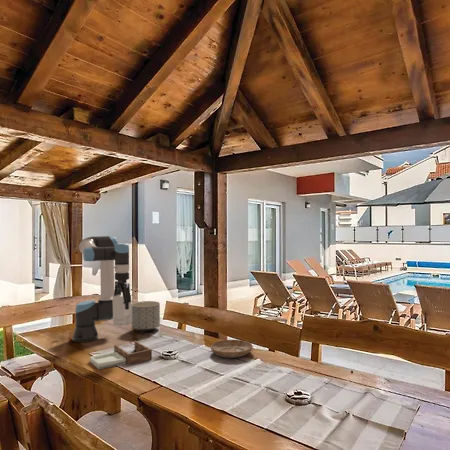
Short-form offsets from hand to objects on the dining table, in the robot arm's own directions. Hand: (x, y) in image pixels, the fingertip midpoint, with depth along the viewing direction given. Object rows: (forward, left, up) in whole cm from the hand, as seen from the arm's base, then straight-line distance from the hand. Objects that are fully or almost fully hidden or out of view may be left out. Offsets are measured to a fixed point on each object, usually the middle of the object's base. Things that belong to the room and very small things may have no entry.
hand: (122, 313), depth 205 cm
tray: (+2, -9, -24) cm, 25 cm away
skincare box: (0, 0, -6) cm, 6 cm away
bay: (+1, +5, -24) cm, 24 cm away
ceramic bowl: (+31, +50, -24) cm, 64 cm away
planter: (-44, +34, -24) cm, 60 cm away
